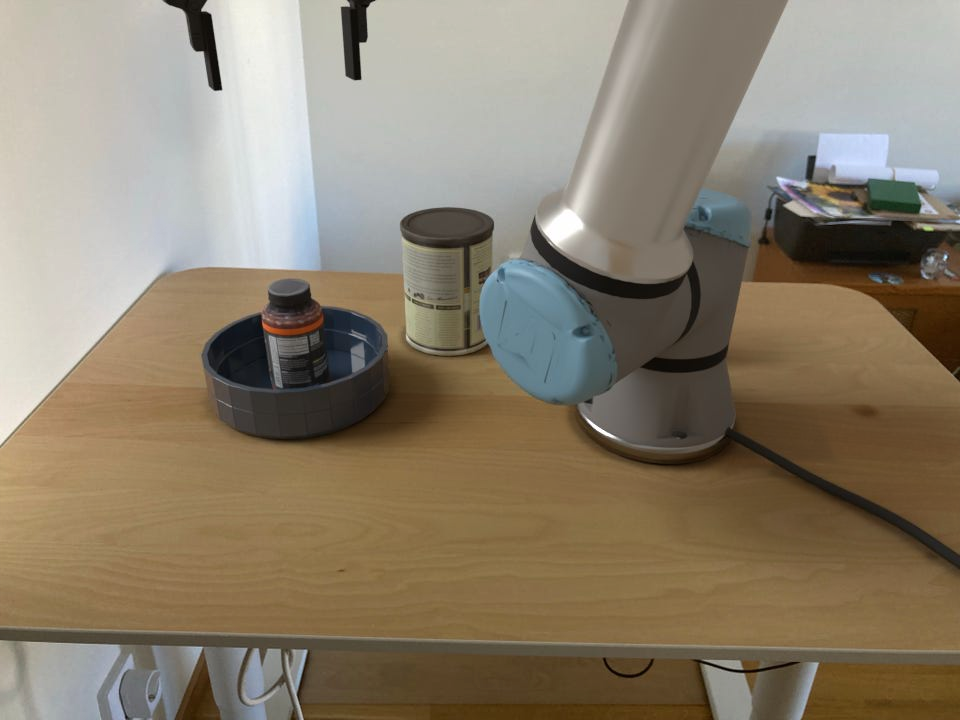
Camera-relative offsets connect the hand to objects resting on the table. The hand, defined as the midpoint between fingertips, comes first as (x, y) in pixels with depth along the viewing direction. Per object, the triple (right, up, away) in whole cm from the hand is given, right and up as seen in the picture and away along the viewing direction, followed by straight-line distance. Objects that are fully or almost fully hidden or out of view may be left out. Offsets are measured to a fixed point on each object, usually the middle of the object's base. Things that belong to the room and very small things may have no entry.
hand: (287, 83), depth 76 cm
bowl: (0, -30, +5) cm, 31 cm away
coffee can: (+15, -24, +16) cm, 33 cm away
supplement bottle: (0, -30, +5) cm, 30 cm away
